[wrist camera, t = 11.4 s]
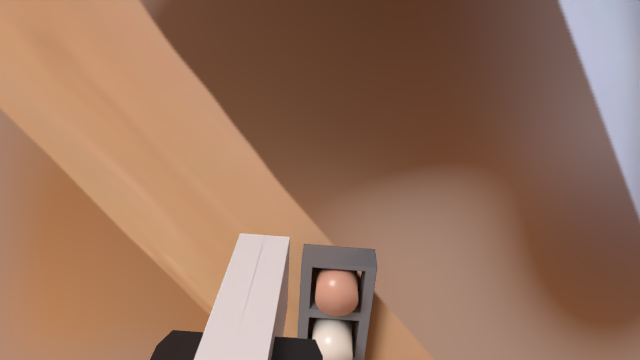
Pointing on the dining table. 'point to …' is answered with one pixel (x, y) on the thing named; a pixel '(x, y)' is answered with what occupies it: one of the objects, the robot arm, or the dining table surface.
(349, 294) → the terracotta button
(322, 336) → the cream rounded dome
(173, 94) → the dining table surface
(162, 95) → the dining table surface
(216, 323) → the robot arm
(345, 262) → the button panel
